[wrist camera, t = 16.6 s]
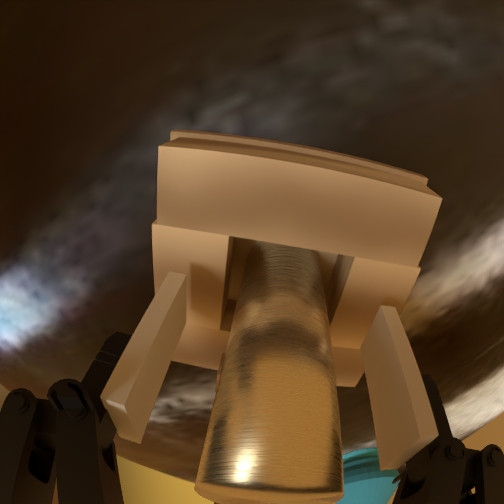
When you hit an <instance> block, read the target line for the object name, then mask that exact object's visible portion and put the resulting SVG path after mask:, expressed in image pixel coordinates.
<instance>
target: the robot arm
mask: <svg viewBox="0 0 504 504" xmlns="http://www.w3.org/2000/svg"><path fill="white" fill-rule="evenodd" d="M186 280H187V275H186V274H181V273H176V272H169V273H168V275H167V277H166V278H165V280H164V282H163V283H162V285H161V287H160V288H159V290H158V292H157V293H156V295H155V297H154V298H153V300H152V302H151V304H150V305H149V307H148V309H147V311H146V312H145V314H144V316H143V318H142V319H141V321H140V323H139V325H138V326H137V328H136V330H135V332H134V334H133V335H132V336H131V335H127V334H123V333H120V332H116V333H115V334H113V335H112V336H111V337H109V338H108V339H107V340H106V341H105V343H104V345H103V346H102V348H101V349H100V352H99V353H98V354H97V356H96V358H95V361H93V363H92V365H91V366H90V368H89V370H88V371H87V373H86V375H85V377H84V378H83V380H82V382H81V383H80V382H78V381H77V380H74V379H63V380H59V381H58V382H56V383H54V384H53V385H52V386H51V388H50V389H49V391H48V394H47V397H48V399H49V400H45V399H37V398H35V396H34V395H33V393H32V392H31V391H29V390H27V389H23V388H18V389H15V390H13V391H12V392H10V393H9V394H8V396H7V397H6V399H5V401H4V403H3V406H2V408H1V411H0V504H52V500H53V494H54V488H55V482H56V477H57V489H58V501H59V504H124V501H123V496H122V491H121V485H120V479H119V473H118V466H117V459H116V451H115V444H114V441H113V438H114V436H115V434H116V431H117V432H118V434H119V436H120V437H121V438H124V439H127V440H130V441H133V442H136V443H139V444H140V443H141V440H142V437H143V434H144V432H145V429H146V426H147V423H148V421H149V418H150V415H151V412H152V410H153V407H154V404H155V402H156V399H157V396H158V394H159V391H160V388H161V386H162V383H163V380H164V378H165V375H166V373H167V370H168V368H169V365H170V362H171V360H172V357H173V355H174V352H175V350H176V347H177V345H178V342H179V340H180V337H181V334H182V332H183V329H184V327H185V325H186ZM360 350H361V355H362V360H363V365H364V370H365V375H366V380H367V385H368V391H369V396H370V402H371V408H372V414H373V420H374V426H375V433H376V440H377V447H378V455H379V463H380V471H381V470H391V469H398V468H399V467H401V466H402V465H403V464H405V463H406V466H407V470H405V471H404V472H403V473H401V474H400V475H398V476H397V477H396V478H394V480H393V482H392V483H393V484H394V483H396V482H398V481H399V480H400V482H399V483H398V484H397V485H399V486H398V489H397V492H396V495H395V498H394V500H393V503H392V504H504V454H503V452H502V450H501V449H500V448H499V447H498V446H497V445H494V444H490V445H487V446H486V447H485V448H484V449H483V450H481V451H479V450H473V449H467V448H465V446H464V444H463V443H462V442H461V440H459V439H457V438H453V436H452V433H451V429H450V426H449V423H448V419H447V416H446V413H445V410H444V407H443V405H442V400H441V397H439V395H440V394H439V391H438V389H437V386H436V384H435V382H434V381H433V380H432V378H431V377H430V376H429V375H421V374H420V371H419V368H418V365H417V362H416V360H415V357H414V354H413V351H412V349H411V346H410V343H409V340H408V338H407V335H406V333H405V330H404V327H403V325H402V322H401V320H400V317H399V315H398V313H397V310H396V308H395V307H392V306H384V305H380V308H379V310H378V312H377V314H376V316H375V318H374V321H373V323H372V325H371V327H370V329H369V331H368V333H367V335H366V337H365V339H364V341H363V343H362V345H361V347H360ZM474 487H475V493H474V494H472V492H471V489H472V488H474Z"/></svg>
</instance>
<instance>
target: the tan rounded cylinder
mask: <svg viewBox="0 0 504 504" xmlns="http://www.w3.org/2000/svg"><path fill="white" fill-rule="evenodd" d="M194 489H195V491H196V492H197V493H198V494H199V495H200V496H202V497H204V498H206V499H208V500H211V501H213V502H216V503H219V504H333V503H336V502H338V501H339V500H341V499H342V498H343V497H344V480H343V459H342V443H341V429H340V416H339V405H338V395H337V385H336V375H335V367H334V358H333V350H332V342H331V334H330V327H329V320H328V313H327V306H326V299H325V293H324V287H323V280H322V274H321V268H320V263H319V258H318V256H317V253H316V252H315V250H312V249H306V248H300V247H294V246H288V245H282V244H276V243H270V242H264V241H260V242H259V243H257V244H256V245H255V246H254V247H253V248H252V250H251V251H250V253H249V255H248V258H247V262H246V266H245V270H244V275H243V279H242V283H241V287H240V292H239V296H238V300H237V305H236V309H235V313H234V318H233V322H232V326H231V330H230V335H229V339H228V343H227V348H226V352H225V356H224V361H223V365H222V369H221V374H220V378H219V382H218V387H217V391H216V395H215V400H214V404H213V408H212V413H211V417H210V422H209V426H208V430H207V435H206V439H205V443H204V448H203V452H202V457H201V461H200V465H199V470H198V474H197V479H196V483H195V488H194Z"/></svg>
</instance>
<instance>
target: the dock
mask: <svg viewBox="0 0 504 504" xmlns="http://www.w3.org/2000/svg"><path fill="white" fill-rule="evenodd" d="M427 182H428V178H426V177H425V176H423V175H422V174H418V173H415V172H412V171H408V170H405V169H401V168H398V167H394V166H391V165H387V164H383V163H379V162H375V161H372V160H368V159H364V158H359V157H355V156H351V155H347V154H342V153H338V152H333V151H328V150H324V149H319V148H314V147H308V146H303V145H298V144H292V143H286V142H280V141H274V140H267V139H261V138H254V137H246V136H239V135H231V134H222V133H212V132H202V131H191V130H177V129H176V130H173V131H171V137H170V141H169V142H167V143H164V144H162V145H160V146H159V149H158V175H157V219H156V220H155V221H154V222H153V223H152V247H153V270H154V287H155V295H156V293H157V292H158V290H159V288H160V287H161V285H162V283H163V282H164V280H165V278H166V277H167V275H168V273H169V272H176V273H181V274H186V275H187V280H186V325H185V327H184V329H183V332H182V334H181V337H180V340H179V342H178V345H177V347H176V350H175V352H174V355H173V357H172V361H176V362H180V363H185V364H189V365H194V366H199V367H203V368H208V369H213V370H218V373H217V383H216V391H217V387H218V382H219V378H220V374H221V369H222V365H223V361H224V356H225V352H226V348H227V343H228V339H229V335H230V330H231V326H232V322H233V318H234V313H235V309H236V305H237V300H238V296H239V292H240V287H241V283H242V279H243V275H244V270H245V266H246V262H247V258H248V255H249V253H250V251H251V250H252V248H253V247H254V246H255V245H256V244H257V243H259V242H260V241H264V242H270V243H276V244H282V245H288V246H294V247H300V248H306V249H312V250H315V252H316V253H317V256H318V258H319V263H320V268H321V274H322V280H323V287H324V293H325V299H326V306H327V313H328V320H329V327H330V334H331V342H332V350H333V358H334V367H335V375H336V385H337V386H347V387H355V386H356V385H357V383H358V381H359V380H360V378H361V376H362V375H363V373H364V371H365V370H364V365H363V360H362V355H361V350H360V347H361V345H362V343H363V341H364V339H365V337H366V335H367V333H368V331H369V329H370V327H371V325H372V323H373V321H374V318H375V316H376V314H377V312H378V310H379V308H380V305H384V306H392V307H395V308H396V310H397V313H398V315H400V313H401V311H402V309H403V307H404V305H405V303H406V301H407V299H408V297H409V295H410V293H411V290H412V288H413V286H414V284H415V282H416V279H417V277H418V275H419V273H420V270H421V268H420V266H419V265H418V264H419V262H420V259H421V257H422V254H423V252H424V249H425V247H426V244H427V242H428V239H429V236H430V234H431V231H432V228H433V225H434V223H435V220H436V217H437V214H438V211H439V208H440V205H441V202H442V199H443V198H441V197H440V196H439V195H437V194H436V193H435V192H433V191H432V190H431V189H429V188H428V187H427V186H426V185H427Z"/></svg>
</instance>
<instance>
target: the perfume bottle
mask: <svg viewBox="0 0 504 504" xmlns="http://www.w3.org/2000/svg"><path fill="white" fill-rule="evenodd" d="M342 459H343V480H344V497H343V498H342V499H341V500H339V501H338V502H336V504H387V503H388V501H389V500H390V498H391V496H392V495H393V493H394V492H395V490H396V488H397V487H398V485H397V484H398V483H399V482H400V480H399V481H398V482H396V483H394V484H393V483H392V482H393V480H394V478H396V477H397V476H398V475H399V472H398V471H397V469H391V470H381V471H380V463H379V455H378V448H368V449H362V450H357V451H353V452H350V453H348V454H345V455H343V456H342Z"/></svg>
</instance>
